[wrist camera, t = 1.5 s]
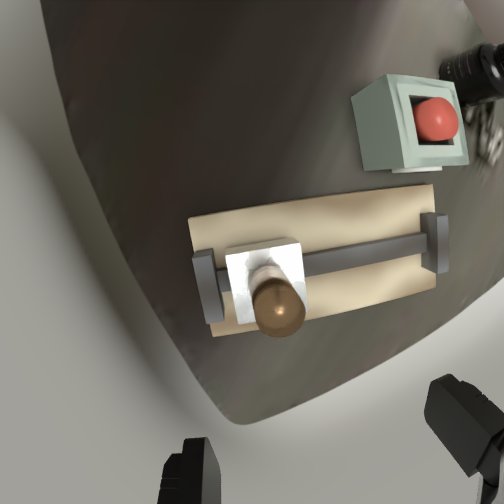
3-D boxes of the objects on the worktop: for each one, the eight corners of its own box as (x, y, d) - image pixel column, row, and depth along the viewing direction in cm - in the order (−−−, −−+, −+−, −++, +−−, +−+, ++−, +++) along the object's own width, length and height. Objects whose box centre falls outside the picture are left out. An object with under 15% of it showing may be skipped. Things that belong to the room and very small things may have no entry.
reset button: (399, 105, 22) (423, 95, 18) (428, 107, 22) (453, 98, 18) (406, 143, 23) (432, 138, 19) (435, 143, 23) (462, 139, 19)
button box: (350, 97, 27) (386, 73, 19) (411, 99, 27) (453, 82, 20) (364, 176, 29) (405, 174, 21) (423, 171, 29) (469, 170, 21)
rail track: (189, 217, 28) (182, 223, 24) (425, 184, 29) (450, 185, 25) (213, 330, 31) (211, 352, 26) (428, 283, 32) (451, 295, 28)
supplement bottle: (472, 74, 27) (532, 55, 15) (473, 115, 28) (539, 104, 16) (437, 51, 26) (496, 21, 14) (437, 94, 27) (505, 72, 16)
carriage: (225, 246, 27) (224, 278, 18) (290, 235, 28) (322, 260, 18) (236, 307, 29) (241, 362, 19) (298, 296, 29) (329, 345, 19)
